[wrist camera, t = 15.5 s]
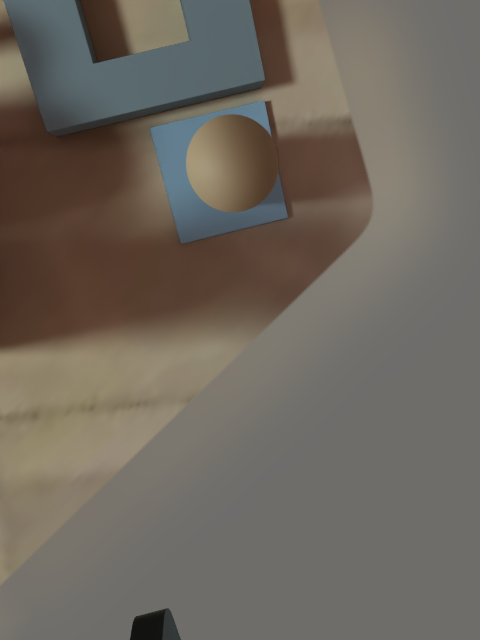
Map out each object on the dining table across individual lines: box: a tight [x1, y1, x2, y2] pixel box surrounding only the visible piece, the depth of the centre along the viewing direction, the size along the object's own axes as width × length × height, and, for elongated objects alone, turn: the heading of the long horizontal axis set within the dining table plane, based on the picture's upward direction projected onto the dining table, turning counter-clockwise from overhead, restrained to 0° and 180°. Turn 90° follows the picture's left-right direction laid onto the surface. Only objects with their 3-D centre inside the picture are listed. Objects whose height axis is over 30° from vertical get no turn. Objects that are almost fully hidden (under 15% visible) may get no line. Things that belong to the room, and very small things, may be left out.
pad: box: [150, 101, 288, 244], centre depth 36 cm, size 9×9×1 cm
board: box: [4, 0, 265, 137], centre depth 32 cm, size 16×14×2 cm
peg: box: [186, 114, 279, 212], centre depth 30 cm, size 5×5×12 cm
